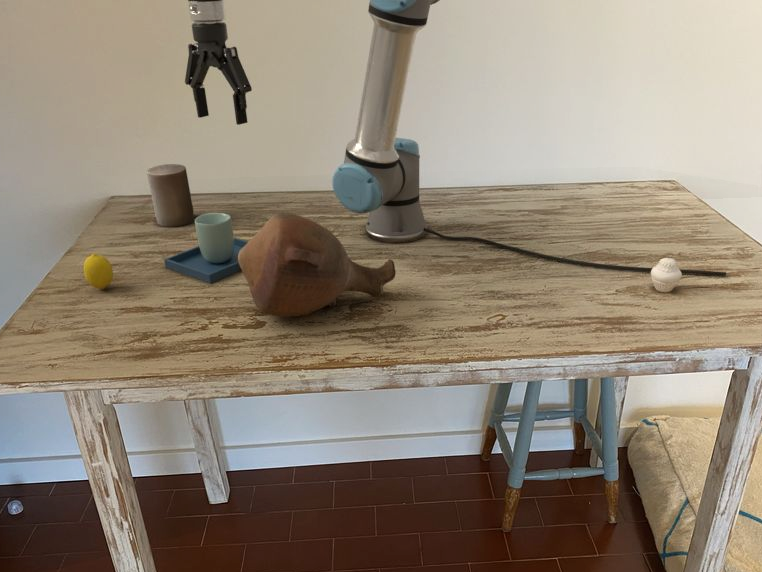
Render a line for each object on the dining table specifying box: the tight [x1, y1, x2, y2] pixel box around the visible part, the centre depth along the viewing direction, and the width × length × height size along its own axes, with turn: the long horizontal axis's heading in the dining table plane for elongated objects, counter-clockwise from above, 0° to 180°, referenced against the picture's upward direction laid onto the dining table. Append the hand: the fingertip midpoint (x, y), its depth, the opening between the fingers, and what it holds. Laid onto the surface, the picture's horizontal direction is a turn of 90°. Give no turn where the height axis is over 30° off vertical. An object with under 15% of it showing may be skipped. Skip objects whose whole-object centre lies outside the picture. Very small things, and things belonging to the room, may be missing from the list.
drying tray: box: [163, 237, 249, 284], centre depth 162 cm, size 15×18×2 cm
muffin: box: [650, 257, 683, 293], centre depth 146 cm, size 6×6×7 cm
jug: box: [238, 212, 396, 318], centre depth 137 cm, size 20×20×30 cm
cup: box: [194, 212, 235, 264], centre depth 159 cm, size 8×8×10 cm
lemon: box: [83, 253, 114, 290], centre depth 148 cm, size 6×6×8 cm
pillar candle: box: [146, 163, 196, 228], centre depth 182 cm, size 10×10×15 cm
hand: (222, 120), depth 168 cm, fingers open, 13 cm apart
